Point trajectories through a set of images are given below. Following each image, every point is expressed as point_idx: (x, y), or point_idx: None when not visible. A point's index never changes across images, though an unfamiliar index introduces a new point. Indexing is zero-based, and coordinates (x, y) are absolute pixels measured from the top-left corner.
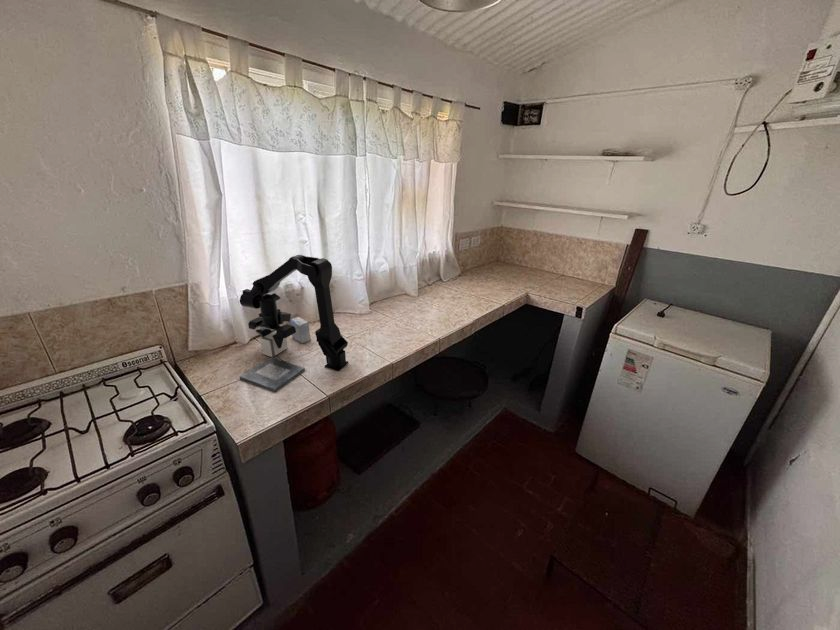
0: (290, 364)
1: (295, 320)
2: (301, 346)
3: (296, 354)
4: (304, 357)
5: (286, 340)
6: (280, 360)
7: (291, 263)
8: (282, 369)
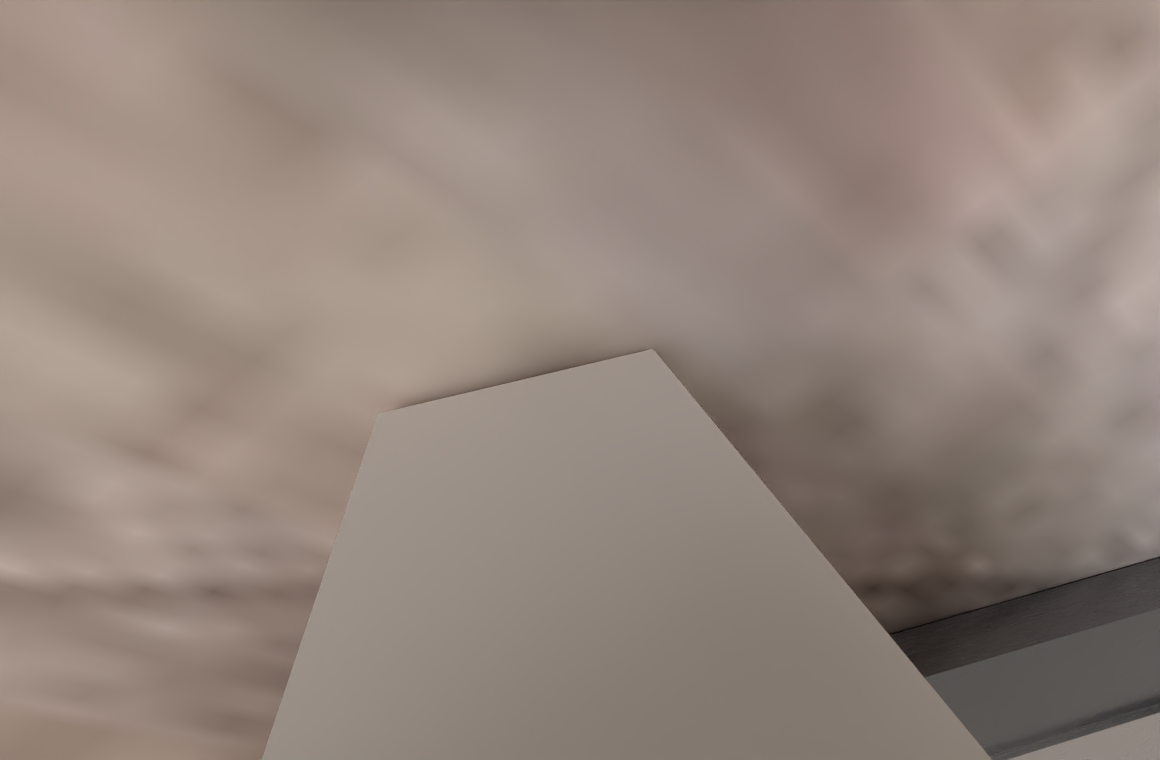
0: (1146, 628)
1: None
2: (822, 34)
3: (955, 349)
4: (1151, 316)
5: (745, 469)
6: (944, 676)
7: None
8: (1126, 742)
